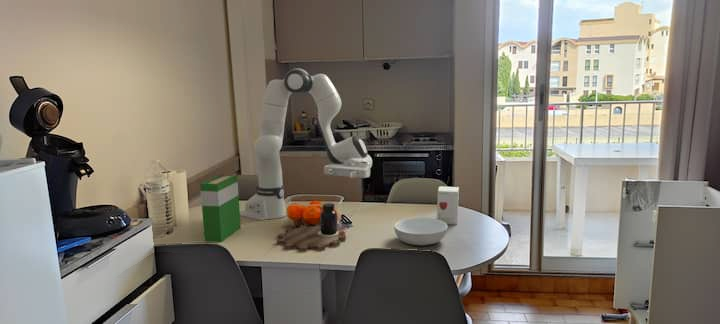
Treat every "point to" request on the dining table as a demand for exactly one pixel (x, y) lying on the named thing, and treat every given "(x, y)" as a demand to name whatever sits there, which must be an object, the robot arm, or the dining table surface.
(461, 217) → the dining table surface
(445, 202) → the supplement box
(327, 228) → the supplement bottle
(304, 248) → the sprocket wheel
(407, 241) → the serving bowl
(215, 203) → the green cereal box
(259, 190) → the robot arm
